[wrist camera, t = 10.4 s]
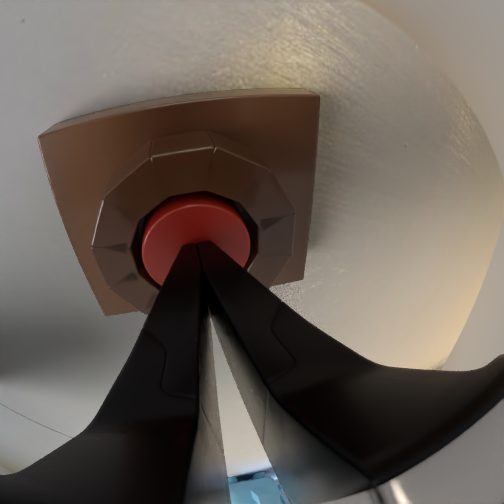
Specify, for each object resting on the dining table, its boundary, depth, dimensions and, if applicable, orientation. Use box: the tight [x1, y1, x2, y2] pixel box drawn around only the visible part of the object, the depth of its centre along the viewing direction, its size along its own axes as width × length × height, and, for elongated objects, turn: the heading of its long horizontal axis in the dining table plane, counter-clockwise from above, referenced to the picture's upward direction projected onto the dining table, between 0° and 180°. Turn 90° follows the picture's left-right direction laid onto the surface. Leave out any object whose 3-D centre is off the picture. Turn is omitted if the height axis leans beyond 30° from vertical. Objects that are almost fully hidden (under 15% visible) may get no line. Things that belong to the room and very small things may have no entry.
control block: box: [38, 88, 320, 317], centre depth 10 cm, size 9×8×4 cm
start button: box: [142, 190, 250, 286], centre depth 9 cm, size 3×3×2 cm
